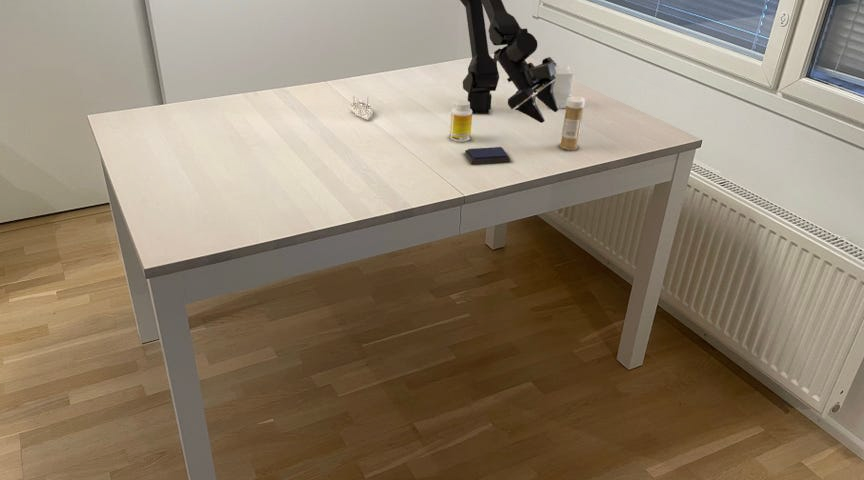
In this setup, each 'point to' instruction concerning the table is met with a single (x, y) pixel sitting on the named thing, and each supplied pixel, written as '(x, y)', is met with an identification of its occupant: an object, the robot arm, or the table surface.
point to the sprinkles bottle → (572, 122)
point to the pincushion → (361, 109)
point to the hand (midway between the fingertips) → (550, 116)
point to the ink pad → (487, 155)
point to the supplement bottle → (461, 121)
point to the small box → (562, 85)
